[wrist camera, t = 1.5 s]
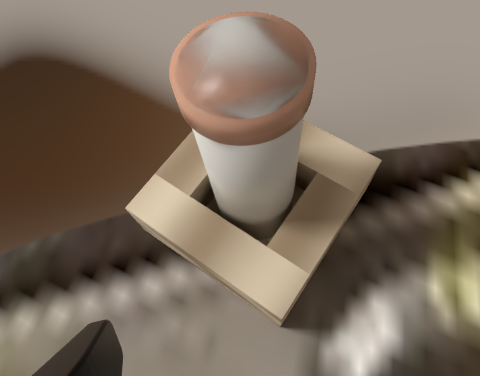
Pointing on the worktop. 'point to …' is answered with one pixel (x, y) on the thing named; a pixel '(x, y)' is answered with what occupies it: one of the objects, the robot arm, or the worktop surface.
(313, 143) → the beige square frame
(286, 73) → the white pink cylinder
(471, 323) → the worktop surface
